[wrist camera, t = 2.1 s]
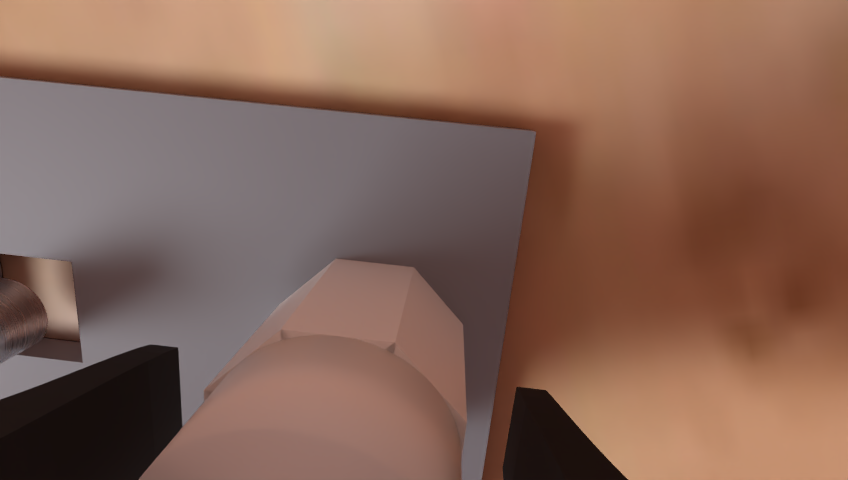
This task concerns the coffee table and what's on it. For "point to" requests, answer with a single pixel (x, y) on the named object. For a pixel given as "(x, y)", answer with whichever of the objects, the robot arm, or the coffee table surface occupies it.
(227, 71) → the coffee table surface
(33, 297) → the post
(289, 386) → the knob
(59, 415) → the robot arm
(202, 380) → the board
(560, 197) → the coffee table surface
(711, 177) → the coffee table surface
